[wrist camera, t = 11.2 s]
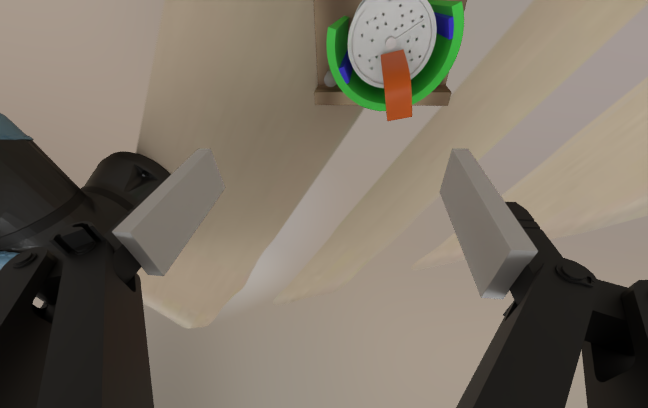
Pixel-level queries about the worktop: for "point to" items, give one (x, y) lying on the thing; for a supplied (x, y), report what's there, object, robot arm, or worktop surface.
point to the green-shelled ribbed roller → (394, 52)
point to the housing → (332, 6)
